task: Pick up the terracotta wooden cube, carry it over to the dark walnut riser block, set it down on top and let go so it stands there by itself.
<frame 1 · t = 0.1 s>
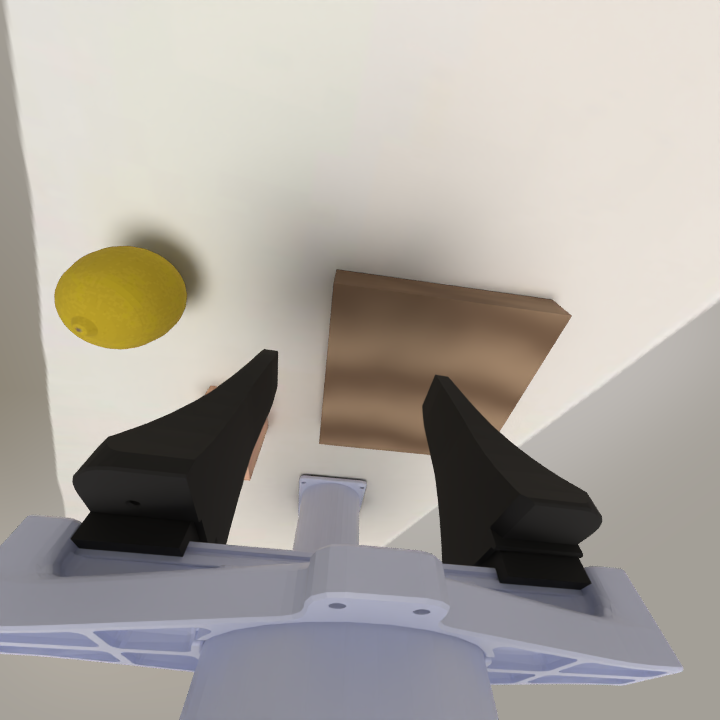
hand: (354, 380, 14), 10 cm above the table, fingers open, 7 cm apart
cube: (241, 407, 29), on the table
lemon: (167, 272, 21), on the table
walnut block: (419, 371, 26), on the table
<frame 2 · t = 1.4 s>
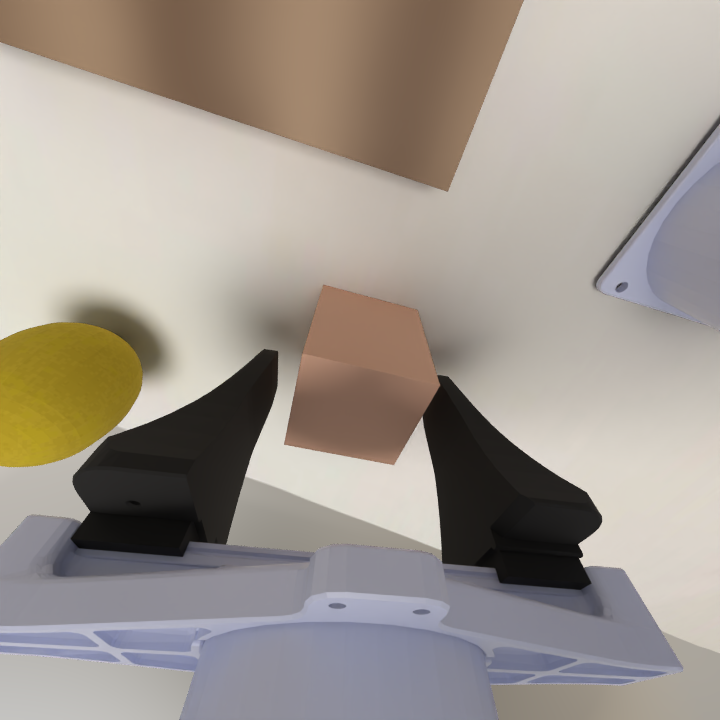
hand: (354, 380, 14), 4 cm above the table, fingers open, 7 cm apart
cube: (358, 337, 17), on the table
lemon: (122, 339, 17), on the table
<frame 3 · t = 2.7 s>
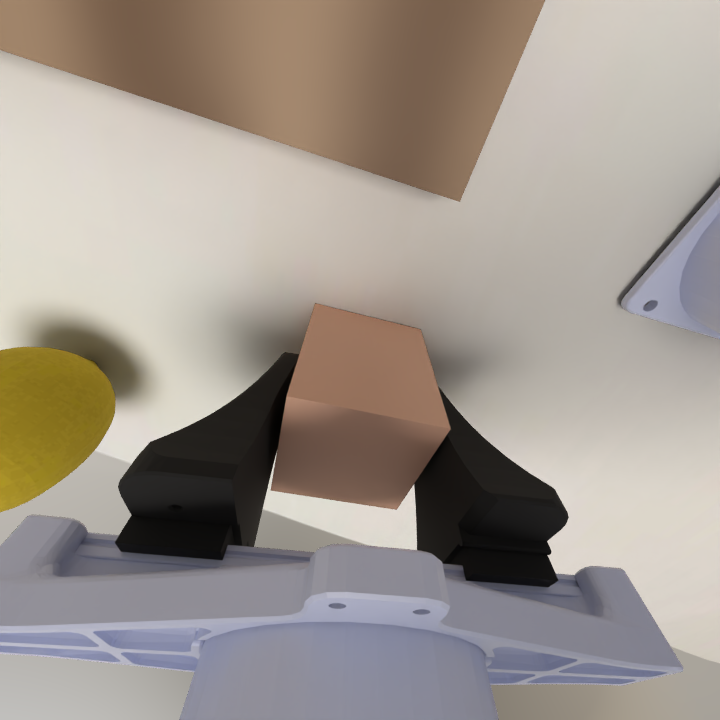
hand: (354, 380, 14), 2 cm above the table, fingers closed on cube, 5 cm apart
cube: (355, 359, 15), on the table, touching gripper
lemon: (94, 361, 16), on the table
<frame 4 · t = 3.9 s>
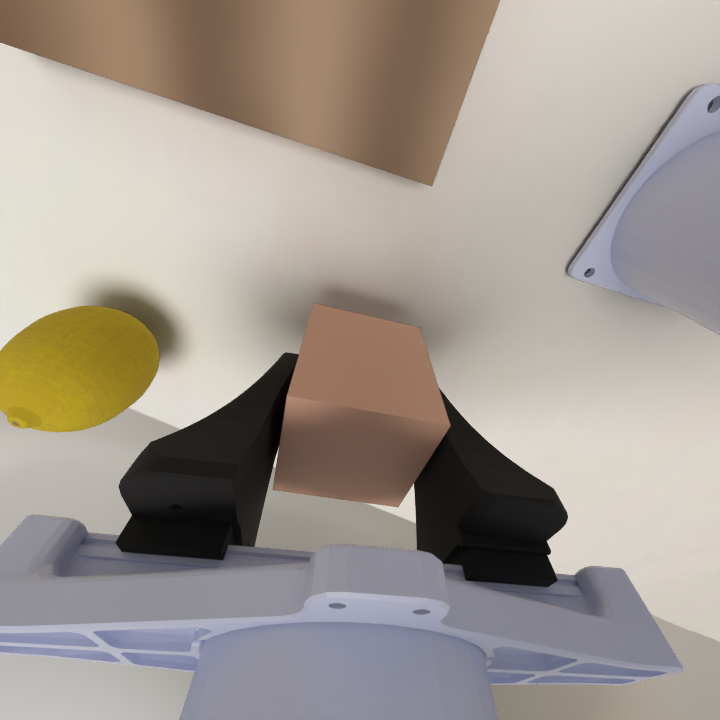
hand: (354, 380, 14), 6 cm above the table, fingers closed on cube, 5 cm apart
cube: (355, 358, 15), point 4 cm above the table, touching gripper
lemon: (139, 324, 19), on the table
when the fingers open (9 cm above the table, at t = 5.4 s): cube drops 2 cm, resting on walnut block.
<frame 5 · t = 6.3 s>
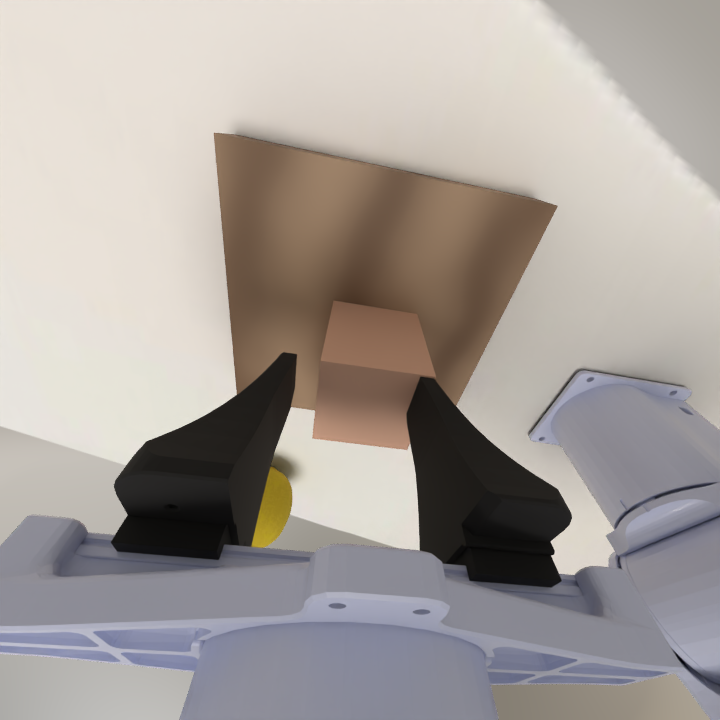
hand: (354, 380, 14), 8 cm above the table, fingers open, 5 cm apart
cube: (368, 342, 19), point 2 cm above the table, touching gripper, walnut block
lemon: (273, 466, 31), on the table
walnut block: (363, 305, 20), on the table
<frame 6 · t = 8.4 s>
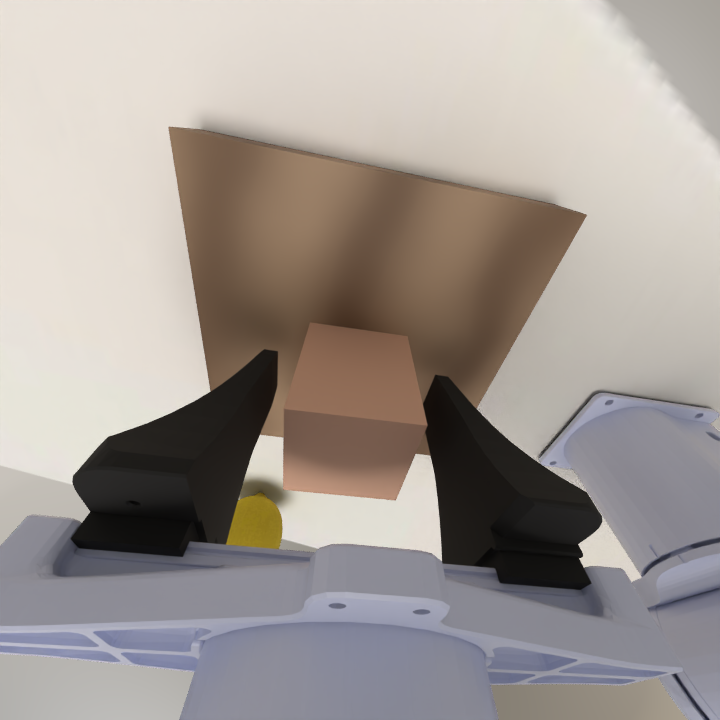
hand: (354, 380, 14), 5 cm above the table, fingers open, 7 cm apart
cube: (352, 367, 17), point 2 cm above the table, touching walnut block
lemon: (261, 491, 29), on the table
walnut block: (357, 325, 18), on the table
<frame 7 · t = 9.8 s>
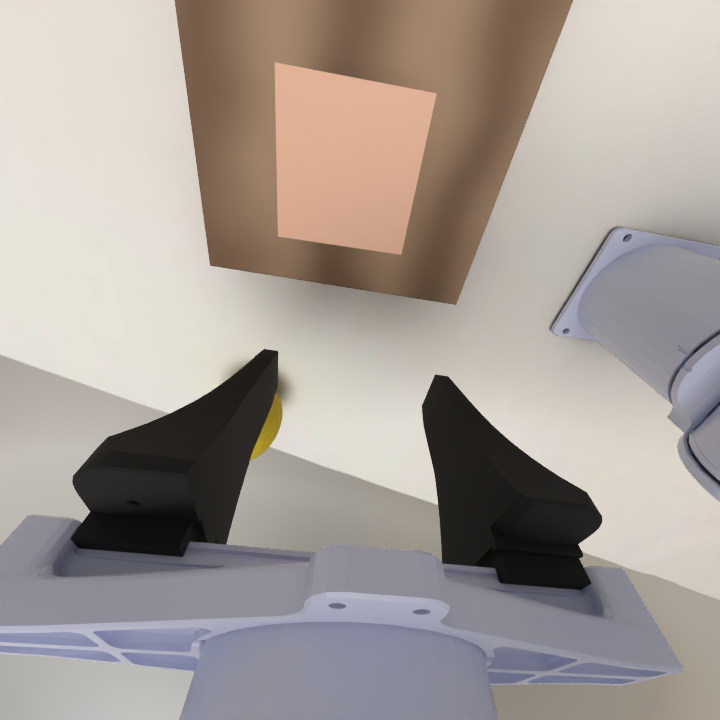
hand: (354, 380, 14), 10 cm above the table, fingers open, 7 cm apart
cube: (352, 164, 15), point 2 cm above the table, touching walnut block
lemon: (261, 384, 28), on the table
walnut block: (357, 133, 17), on the table
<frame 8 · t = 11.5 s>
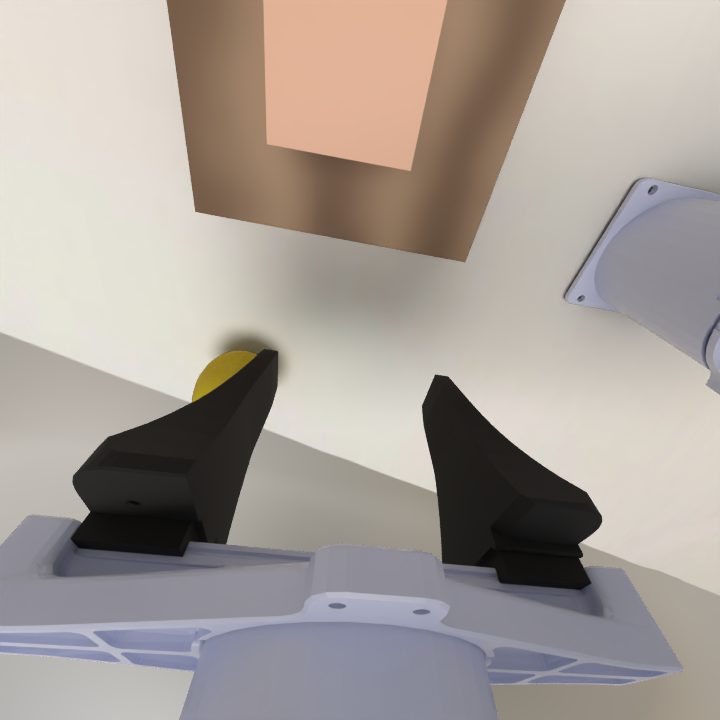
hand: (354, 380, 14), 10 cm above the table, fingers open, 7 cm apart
cube: (354, 87, 14), point 2 cm above the table, touching walnut block
lemon: (253, 358, 26), on the table
walnut block: (360, 60, 15), on the table
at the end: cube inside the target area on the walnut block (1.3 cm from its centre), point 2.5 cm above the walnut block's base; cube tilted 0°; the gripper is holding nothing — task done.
